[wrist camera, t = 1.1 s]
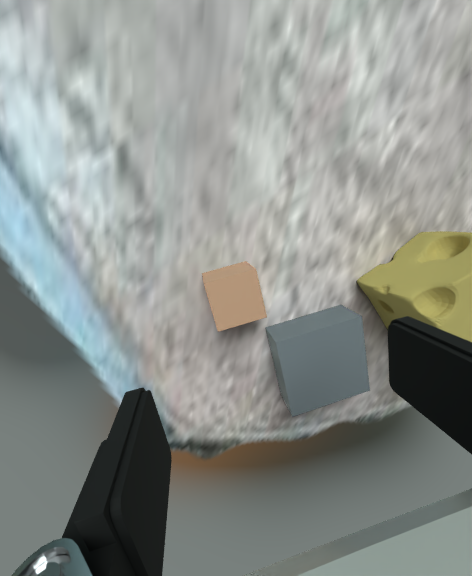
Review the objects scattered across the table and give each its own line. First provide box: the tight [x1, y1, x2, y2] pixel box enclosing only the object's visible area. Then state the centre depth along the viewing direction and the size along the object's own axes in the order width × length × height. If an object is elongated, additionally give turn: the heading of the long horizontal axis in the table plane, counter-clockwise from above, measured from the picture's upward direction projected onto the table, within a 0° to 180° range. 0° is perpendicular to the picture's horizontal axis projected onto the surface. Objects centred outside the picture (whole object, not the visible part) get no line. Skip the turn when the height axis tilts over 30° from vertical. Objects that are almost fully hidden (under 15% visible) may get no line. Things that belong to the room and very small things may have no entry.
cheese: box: [357, 232, 472, 342], centre depth 27 cm, size 10×11×10 cm
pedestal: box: [266, 305, 370, 417], centre depth 30 cm, size 10×10×4 cm
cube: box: [202, 261, 267, 332], centre depth 26 cm, size 5×5×5 cm
